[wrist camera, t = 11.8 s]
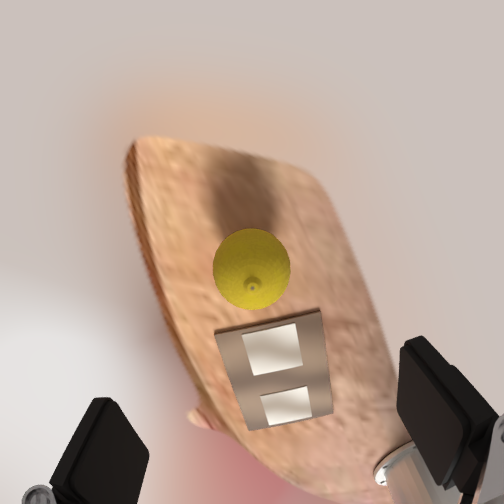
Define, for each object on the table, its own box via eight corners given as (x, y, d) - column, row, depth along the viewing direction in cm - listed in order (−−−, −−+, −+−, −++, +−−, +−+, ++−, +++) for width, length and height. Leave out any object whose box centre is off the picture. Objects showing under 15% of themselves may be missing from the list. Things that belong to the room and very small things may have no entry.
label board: (332, 411, 31) (333, 413, 31) (248, 429, 32) (248, 431, 31) (319, 310, 28) (320, 312, 27) (214, 333, 28) (214, 335, 28)
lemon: (235, 208, 25) (232, 226, 17) (294, 239, 26) (315, 269, 18) (206, 266, 26) (192, 306, 19) (263, 293, 27) (271, 341, 19)
